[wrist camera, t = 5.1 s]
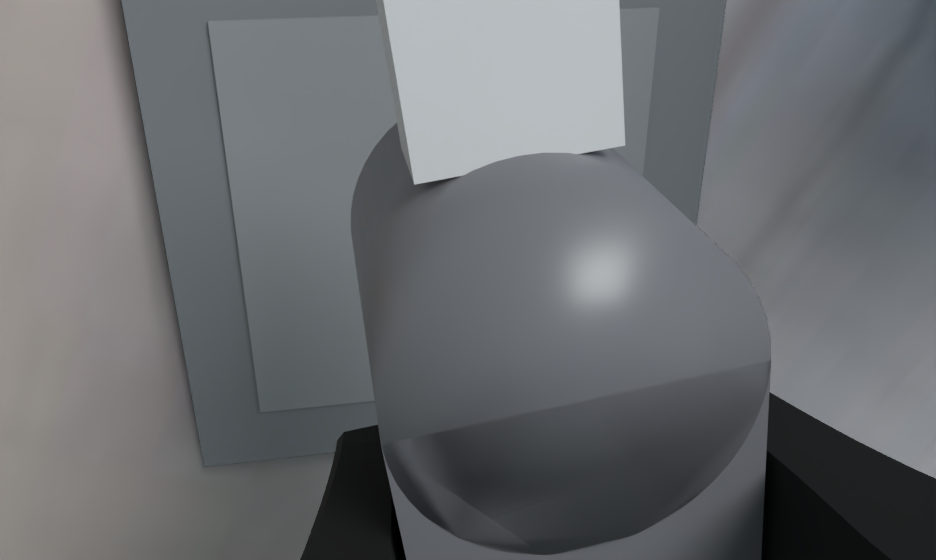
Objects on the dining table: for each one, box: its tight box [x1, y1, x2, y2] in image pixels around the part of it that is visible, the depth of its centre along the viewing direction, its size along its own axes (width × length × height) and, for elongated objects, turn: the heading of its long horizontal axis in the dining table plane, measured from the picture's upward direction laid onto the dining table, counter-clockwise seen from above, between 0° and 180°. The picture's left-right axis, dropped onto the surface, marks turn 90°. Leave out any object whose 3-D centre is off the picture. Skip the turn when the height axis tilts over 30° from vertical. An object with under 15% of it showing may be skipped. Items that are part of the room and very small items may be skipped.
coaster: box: [121, 0, 726, 467], centre depth 19 cm, size 12×12×1 cm
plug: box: [351, 0, 771, 560], centre depth 11 cm, size 11×4×4 cm, turn 7°
